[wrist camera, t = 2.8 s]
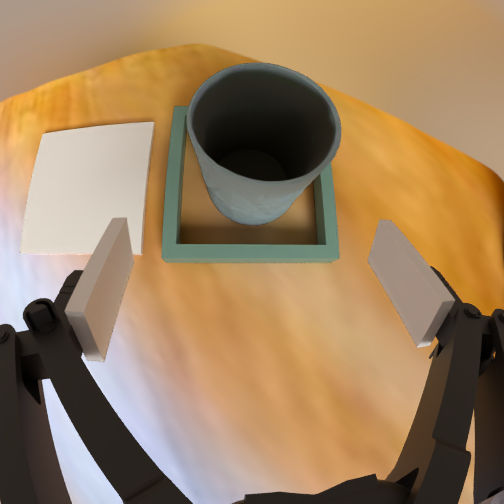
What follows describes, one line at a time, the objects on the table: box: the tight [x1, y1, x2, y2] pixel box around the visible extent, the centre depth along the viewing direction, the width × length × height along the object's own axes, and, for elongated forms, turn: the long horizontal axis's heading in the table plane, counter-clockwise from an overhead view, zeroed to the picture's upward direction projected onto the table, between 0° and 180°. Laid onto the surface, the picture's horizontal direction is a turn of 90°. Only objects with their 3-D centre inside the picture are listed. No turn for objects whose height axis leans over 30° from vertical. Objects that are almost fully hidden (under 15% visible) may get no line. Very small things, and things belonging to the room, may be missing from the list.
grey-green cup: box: [187, 63, 341, 226], centre depth 25 cm, size 10×10×12 cm
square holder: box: [162, 106, 340, 263], centre depth 29 cm, size 15×15×2 cm
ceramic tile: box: [20, 122, 155, 255], centre depth 29 cm, size 14×14×1 cm
